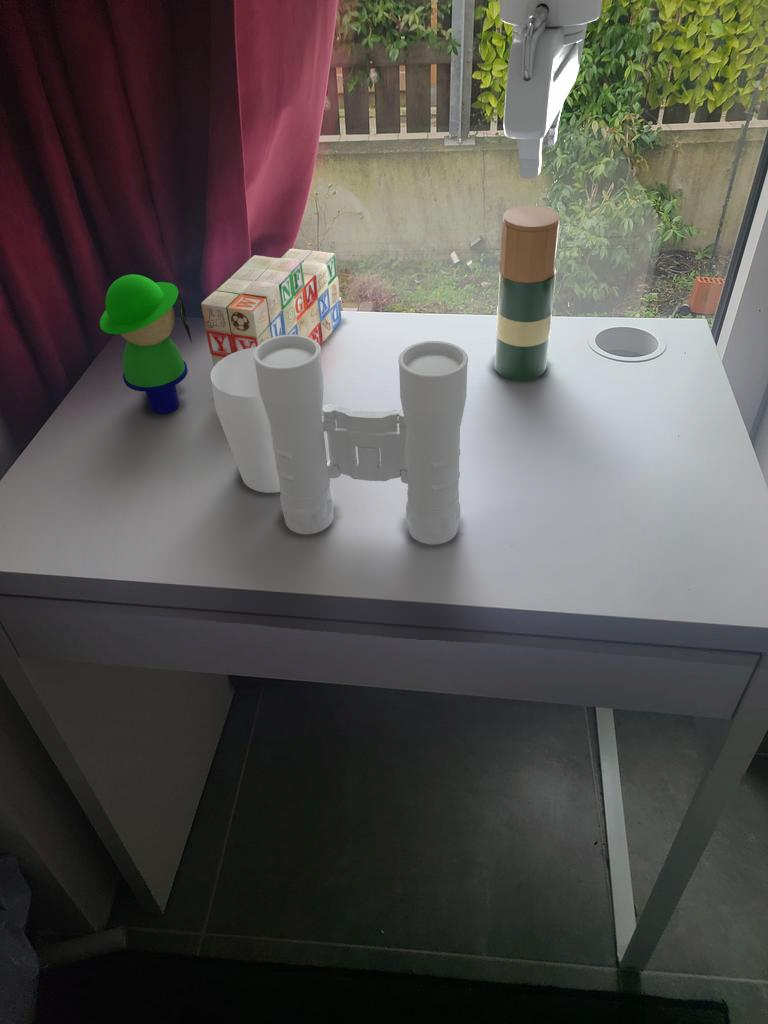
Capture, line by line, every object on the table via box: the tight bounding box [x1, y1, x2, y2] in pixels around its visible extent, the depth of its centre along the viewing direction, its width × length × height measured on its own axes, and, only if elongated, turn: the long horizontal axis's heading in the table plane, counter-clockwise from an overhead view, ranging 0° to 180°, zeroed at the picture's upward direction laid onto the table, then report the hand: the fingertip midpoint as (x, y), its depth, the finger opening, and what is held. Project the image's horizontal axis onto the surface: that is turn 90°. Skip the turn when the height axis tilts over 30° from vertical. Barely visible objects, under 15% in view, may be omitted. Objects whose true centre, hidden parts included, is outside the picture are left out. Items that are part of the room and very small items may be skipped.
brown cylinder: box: [499, 205, 561, 283], centre depth 86 cm, size 6×6×6 cm
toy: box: [99, 274, 193, 416], centre depth 88 cm, size 9×9×15 cm
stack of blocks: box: [200, 248, 342, 367], centre depth 95 cm, size 21×6×12 cm, turn 159°
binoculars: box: [253, 335, 469, 545], centre depth 70 cm, size 17×5×18 cm, turn 81°
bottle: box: [493, 269, 557, 381], centre depth 90 cm, size 6×6×17 cm
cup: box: [210, 347, 280, 494], centre depth 78 cm, size 9×9×12 cm
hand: (538, 159), depth 80 cm, fingers open, 8 cm apart
